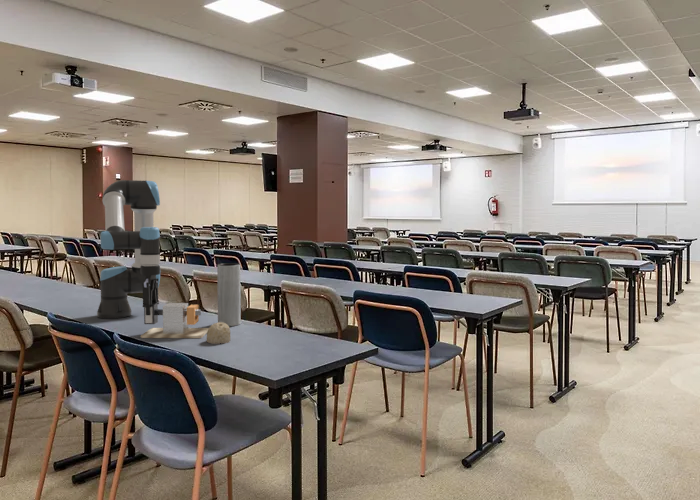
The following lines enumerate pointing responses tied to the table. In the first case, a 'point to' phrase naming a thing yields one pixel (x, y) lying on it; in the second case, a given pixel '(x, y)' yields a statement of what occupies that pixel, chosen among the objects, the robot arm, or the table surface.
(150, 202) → the robot arm
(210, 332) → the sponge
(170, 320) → the grey upright block
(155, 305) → the shaft
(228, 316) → the vase
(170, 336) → the board
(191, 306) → the block
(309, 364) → the table surface
